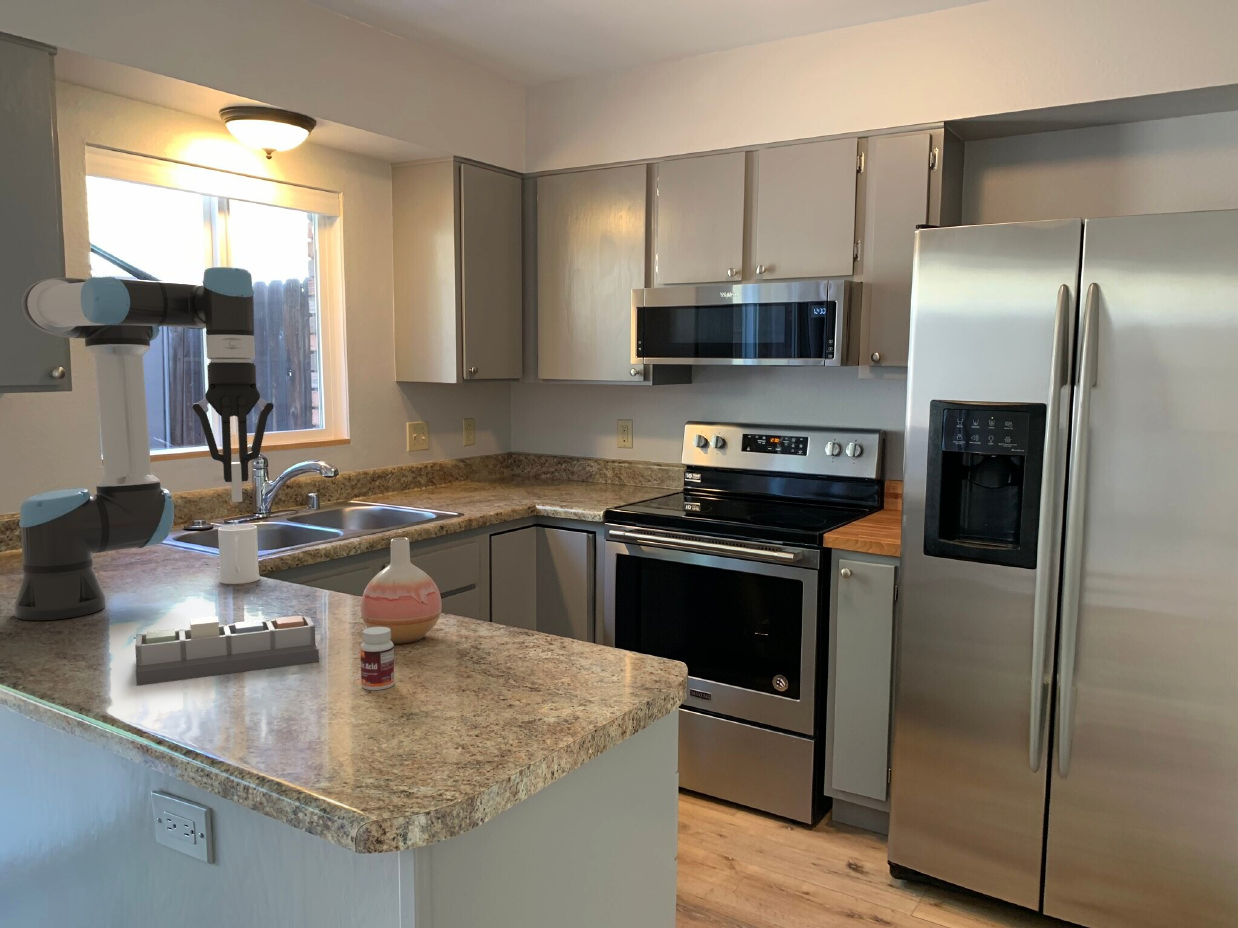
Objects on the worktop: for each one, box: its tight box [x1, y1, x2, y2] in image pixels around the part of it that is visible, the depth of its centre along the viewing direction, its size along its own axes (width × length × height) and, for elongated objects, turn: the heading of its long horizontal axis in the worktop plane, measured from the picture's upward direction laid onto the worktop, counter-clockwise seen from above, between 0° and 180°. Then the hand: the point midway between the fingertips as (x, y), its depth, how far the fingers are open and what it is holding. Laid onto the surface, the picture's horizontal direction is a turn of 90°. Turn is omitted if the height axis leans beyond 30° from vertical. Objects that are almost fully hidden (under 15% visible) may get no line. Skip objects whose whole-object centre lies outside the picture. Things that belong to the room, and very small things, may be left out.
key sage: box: [146, 628, 176, 644], centre depth 146 cm, size 4×4×3 cm
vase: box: [360, 537, 443, 645], centre depth 162 cm, size 14×14×18 cm
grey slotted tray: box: [134, 615, 320, 686], centre depth 150 cm, size 26×14×5 cm, turn 116°
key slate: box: [233, 619, 263, 634], centre depth 151 cm, size 4×4×3 cm
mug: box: [217, 524, 261, 585], centre depth 208 cm, size 12×8×12 cm
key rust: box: [274, 615, 304, 629], centre depth 154 cm, size 4×4×3 cm
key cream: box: [189, 615, 220, 639], centre depth 148 cm, size 4×4×3 cm
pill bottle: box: [359, 627, 395, 691], centre depth 138 cm, size 5×5×8 cm
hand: (237, 500), depth 159 cm, fingers closed
